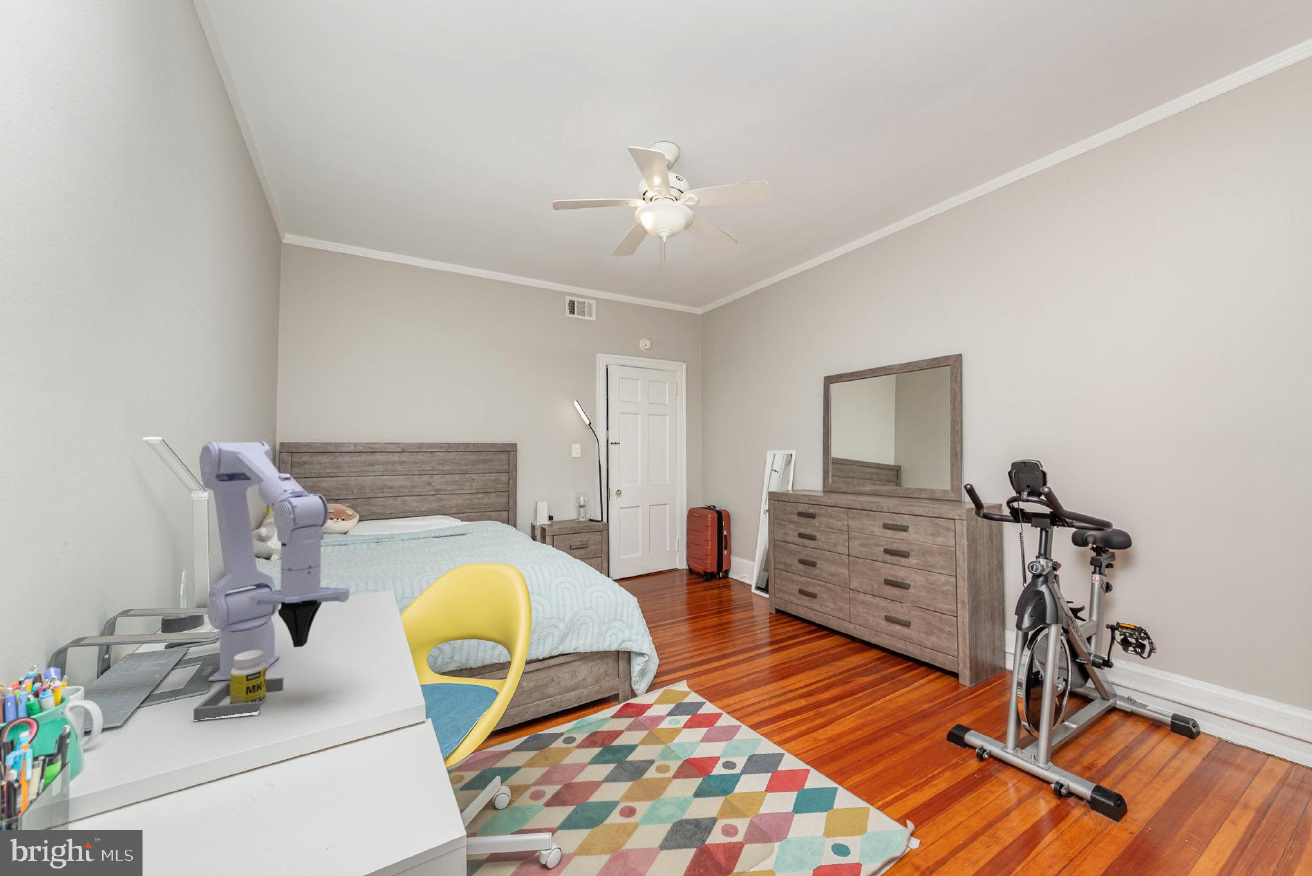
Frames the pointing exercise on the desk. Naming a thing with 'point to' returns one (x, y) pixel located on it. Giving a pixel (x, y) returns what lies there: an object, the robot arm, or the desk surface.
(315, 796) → the desk surface
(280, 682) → the cradle
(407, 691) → the desk surface
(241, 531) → the robot arm
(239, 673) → the supplement bottle
